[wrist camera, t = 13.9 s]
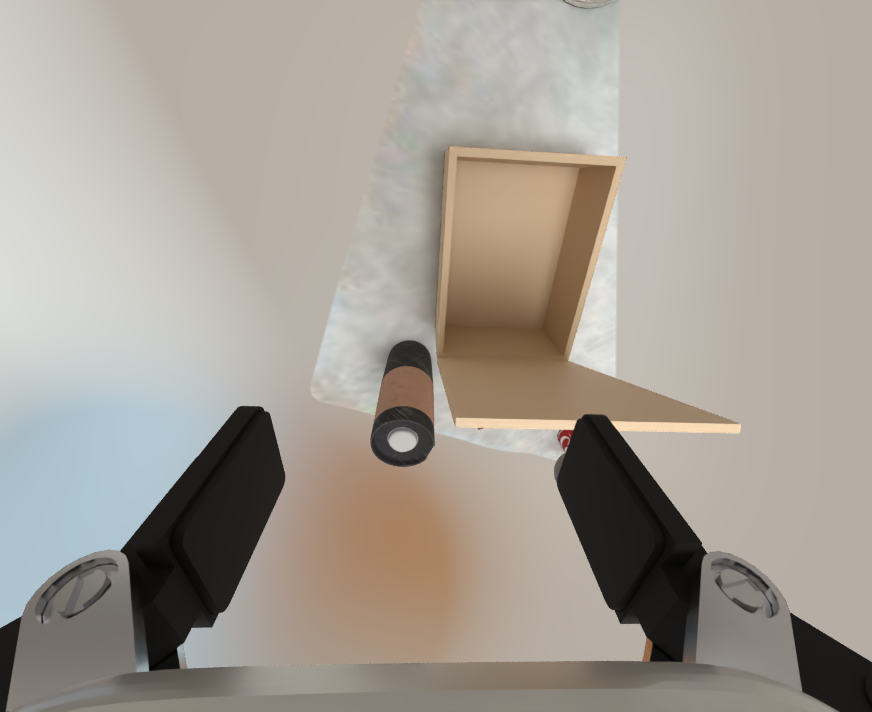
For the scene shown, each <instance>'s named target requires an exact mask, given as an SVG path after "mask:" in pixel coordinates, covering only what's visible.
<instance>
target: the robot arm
mask: <svg viewBox="0 0 872 712" xmlns="http://www.w3.org/2000/svg"><path fill="white" fill-rule="evenodd" d="M565 1H566V2H568V3H570V4H572V5H574V6H577V7H583V8H594V7H600V6H603V5H605V4H608V3H611V2H612V1H614V0H565ZM284 482H285V472H284V468H283V464H282V460H281V456H280V452H279V448H278V444H277V440H276V436H275V432H274V429H273V424H272V420H271V416H270V414H269V412H265V411H264V409H263V408H262V407H259V406H240V407H238V408H237V409H236V410H235V411H234V413H233V414H232V415H231V416H230V418H229V419H228V420H227V421H226V423H225V424H224V425H223V426H222V427H221V429H220V430H219V431H218V432H217V434H216V435H215V436H214V437H213V438H212V440H211V441H210V442H209V443H208V445H207V446H206V447H205V448H204V450H203V451H202V452H201V453H200V455H199V456H198V457H197V458H196V459H195V460H194V461H193V462H192V463H191V465H190V466H189V467H188V468H187V470H186V471H185V472H184V473H183V475H182V476H181V477H180V478H179V479H178V481H177V482H176V483H175V484H174V485H173V487H172V488H171V489H170V490H169V492H168V493H167V494H166V495H165V497H164V498H163V499H162V500H161V502H160V503H159V504H158V505H157V506H156V508H155V509H154V510H153V511H152V512H151V514H150V515H149V516H148V517H147V519H146V520H145V521H144V522H143V524H142V525H141V526H140V527H139V529H138V530H137V531H136V532H135V533H134V535H133V536H132V537H131V538H130V540H129V541H128V542H127V543H126V544H125V546H124V547H123V548H122V549H121V551H115V550H105V551H99V552H95V553H92V554H90V555H87V556H84V557H82V558H79V559H78V560H76V561H74V562H72V563H70V564H69V565H67V566H65V567H64V568H62V569H61V570H60V571H58V572H57V573H56V574H54V575H53V576H51V577H50V578H49V579H48V580H47V581H46V582H45V583H44V584H43V585H42V586H41V587H40V588H39V589H38V590H37V591H36V592H35V593H34V595H33V596H32V597H31V599H30V600H29V602H28V603H27V604H26V607H25V610H24V612H23V615H22V616H21V617H20V618H18V619H16V620H14V621H12V622H10V623H9V624H7V625H5V626H3V627H1V628H0V712H872V662H871V661H869V660H867V659H866V658H864V657H862V656H861V655H859V654H857V653H856V652H854V651H852V650H851V649H849V648H847V647H846V646H844V645H843V644H841V643H839V642H838V641H836V640H834V639H833V638H831V637H829V636H827V635H826V634H825V633H823V632H821V631H820V630H818V629H816V628H815V627H813V626H811V625H810V624H808V623H806V622H805V621H803V620H801V619H800V618H798V617H797V616H795V615H793V614H792V613H790V611H789V608H788V605H787V602H786V600H785V598H784V597H783V595H782V594H781V592H780V591H779V589H778V588H777V587H776V586H775V585H774V584H773V583H772V582H771V580H770V579H769V578H768V577H767V576H766V575H764V574H763V573H762V572H761V571H759V570H758V569H757V568H756V567H754V566H753V565H751V564H750V563H748V562H746V561H745V560H743V559H741V558H739V557H737V556H734V555H732V554H729V553H724V552H720V551H716V552H709V553H707V552H706V551H705V549H704V548H703V547H702V542H701V541H700V540H699V538H698V537H697V536H696V534H695V533H694V532H693V530H692V529H691V528H690V526H689V525H688V524H687V522H686V521H685V520H684V518H683V517H682V516H681V514H680V513H679V512H678V511H677V509H676V508H675V507H674V505H673V504H672V502H671V501H670V500H669V498H668V497H667V496H666V494H665V493H664V492H663V491H662V489H661V488H660V486H659V485H658V484H657V482H656V481H655V480H654V479H653V477H652V476H651V474H650V473H649V472H648V471H647V469H646V468H645V466H644V465H643V464H642V462H641V461H640V460H639V458H638V457H637V456H636V455H635V453H634V452H633V450H632V449H631V448H630V447H629V445H628V444H627V443H626V441H625V440H624V438H623V437H622V436H621V435H620V433H619V432H618V430H617V429H616V428H615V426H614V425H613V424H612V422H611V421H610V420H609V418H608V417H607V416H606V415H603V414H584V415H583V416H582V418H581V419H578V420H577V421H576V424H575V427H574V430H573V433H572V436H571V439H570V442H569V445H568V448H567V451H566V454H565V456H564V459H563V462H562V465H561V468H560V471H559V474H558V477H557V486H558V490H559V492H560V494H561V497H562V500H563V502H564V504H565V507H566V509H567V511H568V514H569V516H570V518H571V520H572V523H573V526H574V528H575V530H576V533H577V535H578V537H579V540H580V542H581V545H582V547H583V549H584V552H585V554H586V556H587V559H588V561H589V563H590V566H591V568H592V571H593V573H594V575H595V578H596V580H597V582H598V585H599V587H600V590H601V592H602V594H603V597H604V599H605V601H606V603H607V605H608V607H609V608H610V609H612V610H615V612H616V615H617V617H618V619H619V622H620V624H641V626H642V628H643V631H644V632H645V635H646V636H647V638H646V644H645V650H644V656H643V661H642V662H640V661H635V662H634V661H577V662H576V661H573V662H571V661H564V662H475V663H474V662H469V663H402V664H401V663H400V664H344V665H343V664H341V665H293V666H292V665H291V666H243V667H219V668H193V669H187V665H186V659H185V654H184V648H183V643H184V642H185V640H186V638H187V636H188V634H189V632H190V630H191V628H200V627H201V628H202V627H212V626H213V624H214V622H215V620H216V618H217V616H218V614H219V613H221V612H224V611H225V610H226V608H227V607H228V605H229V604H230V602H231V599H232V597H233V595H234V593H235V591H236V588H237V586H238V584H239V582H240V580H241V578H242V575H243V573H244V571H245V569H246V567H247V564H248V562H249V560H250V558H251V556H252V554H253V551H254V549H255V547H256V545H257V543H258V541H259V538H260V536H261V534H262V532H263V530H264V527H265V525H266V523H267V521H268V519H269V516H270V514H271V512H272V510H273V508H274V506H275V504H276V501H277V499H278V497H279V495H280V493H281V490H282V488H283V486H284Z"/></svg>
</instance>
